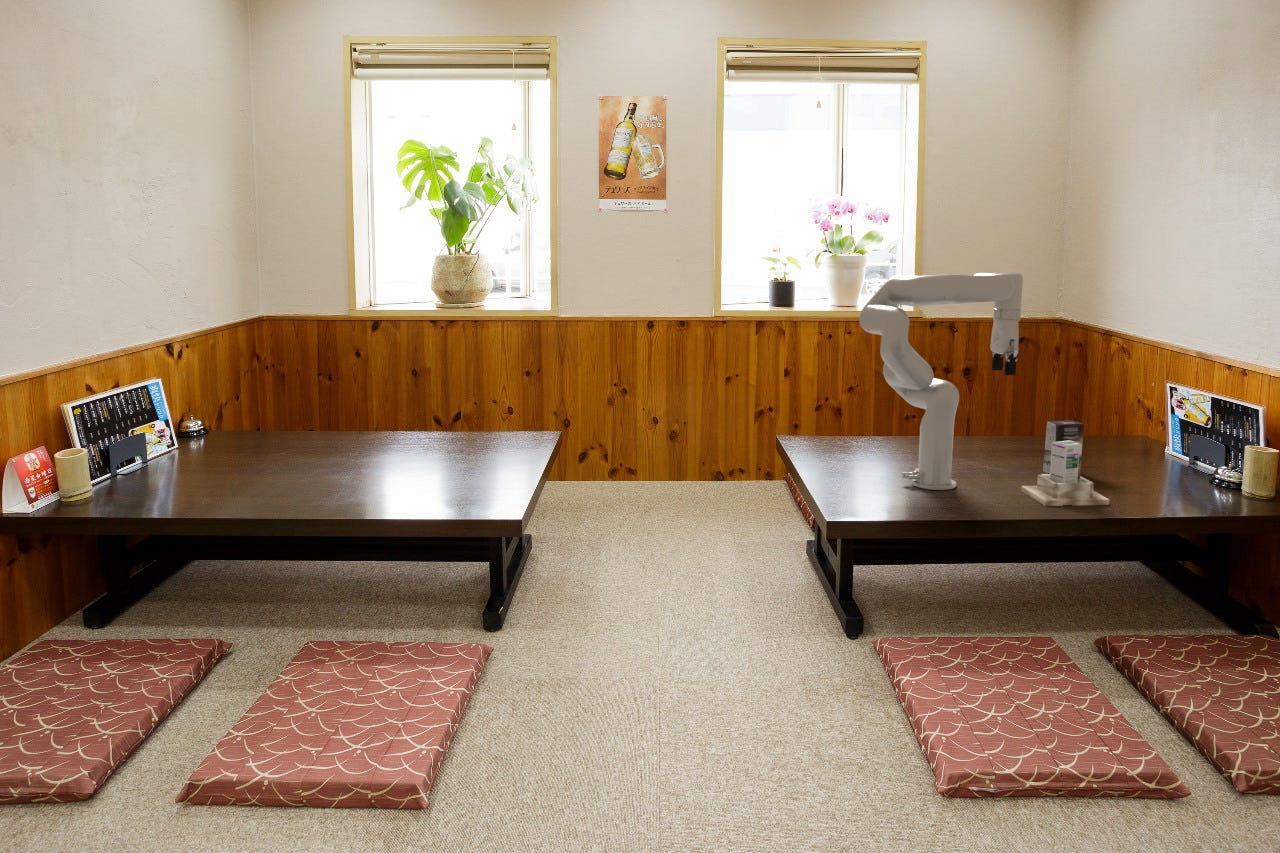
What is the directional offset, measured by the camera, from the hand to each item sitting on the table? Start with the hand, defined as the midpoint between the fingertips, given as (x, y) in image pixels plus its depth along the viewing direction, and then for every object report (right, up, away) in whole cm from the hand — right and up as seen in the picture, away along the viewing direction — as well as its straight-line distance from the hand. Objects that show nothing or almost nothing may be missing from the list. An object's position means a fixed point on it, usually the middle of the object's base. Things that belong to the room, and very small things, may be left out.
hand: (1003, 372), depth 308 cm
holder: (+11, -36, -17) cm, 41 cm away
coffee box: (+22, -31, +11) cm, 39 cm away
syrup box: (+11, -35, -17) cm, 40 cm away
